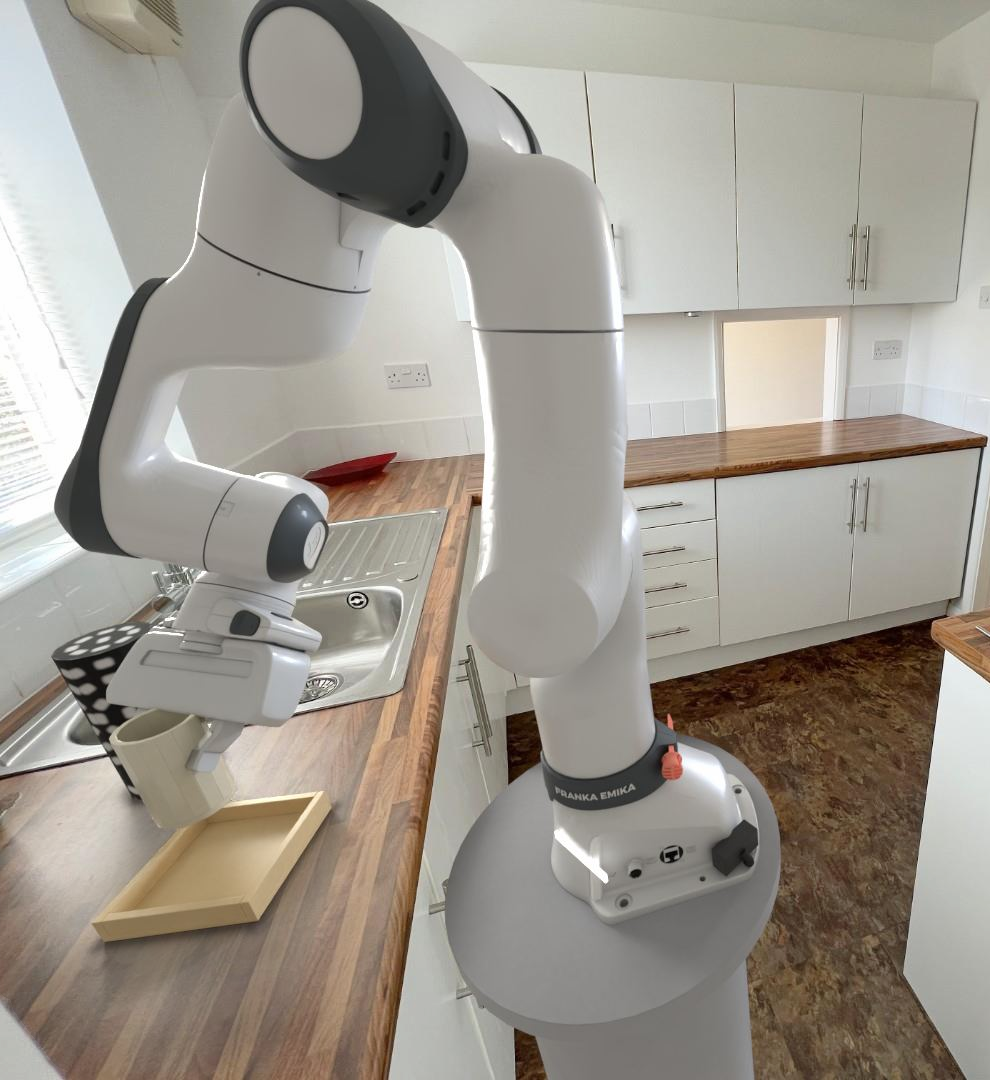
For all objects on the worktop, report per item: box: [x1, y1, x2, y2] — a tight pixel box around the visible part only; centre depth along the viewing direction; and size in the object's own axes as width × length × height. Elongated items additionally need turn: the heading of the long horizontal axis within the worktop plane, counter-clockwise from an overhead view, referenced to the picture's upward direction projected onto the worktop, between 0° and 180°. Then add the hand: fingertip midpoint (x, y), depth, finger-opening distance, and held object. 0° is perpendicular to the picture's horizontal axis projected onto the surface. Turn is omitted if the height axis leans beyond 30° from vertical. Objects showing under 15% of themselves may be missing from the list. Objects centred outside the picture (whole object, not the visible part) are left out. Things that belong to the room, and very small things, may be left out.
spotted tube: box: [50, 621, 153, 801], centre depth 71 cm, size 8×8×20 cm
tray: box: [91, 790, 332, 943], centre depth 60 cm, size 14×14×3 cm
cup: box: [109, 708, 237, 831], centre depth 56 cm, size 6×6×10 cm
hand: (168, 765), depth 55 cm, fingers closed on cup, 6 cm apart
